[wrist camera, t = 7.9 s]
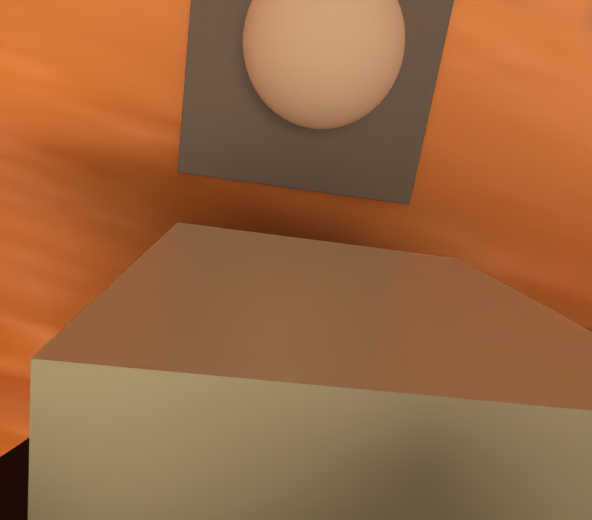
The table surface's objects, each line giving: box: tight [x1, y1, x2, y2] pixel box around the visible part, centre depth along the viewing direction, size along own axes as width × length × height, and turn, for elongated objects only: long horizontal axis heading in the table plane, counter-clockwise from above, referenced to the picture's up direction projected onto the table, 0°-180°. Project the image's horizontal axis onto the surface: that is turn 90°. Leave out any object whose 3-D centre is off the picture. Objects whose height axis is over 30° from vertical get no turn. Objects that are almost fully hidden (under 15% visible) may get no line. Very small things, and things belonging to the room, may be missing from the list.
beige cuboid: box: [28, 222, 592, 520], centre depth 7 cm, size 7×6×6 cm
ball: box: [243, 0, 405, 129], centre depth 13 cm, size 4×4×4 cm
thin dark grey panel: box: [178, 0, 454, 204], centre depth 15 cm, size 8×8×1 cm
